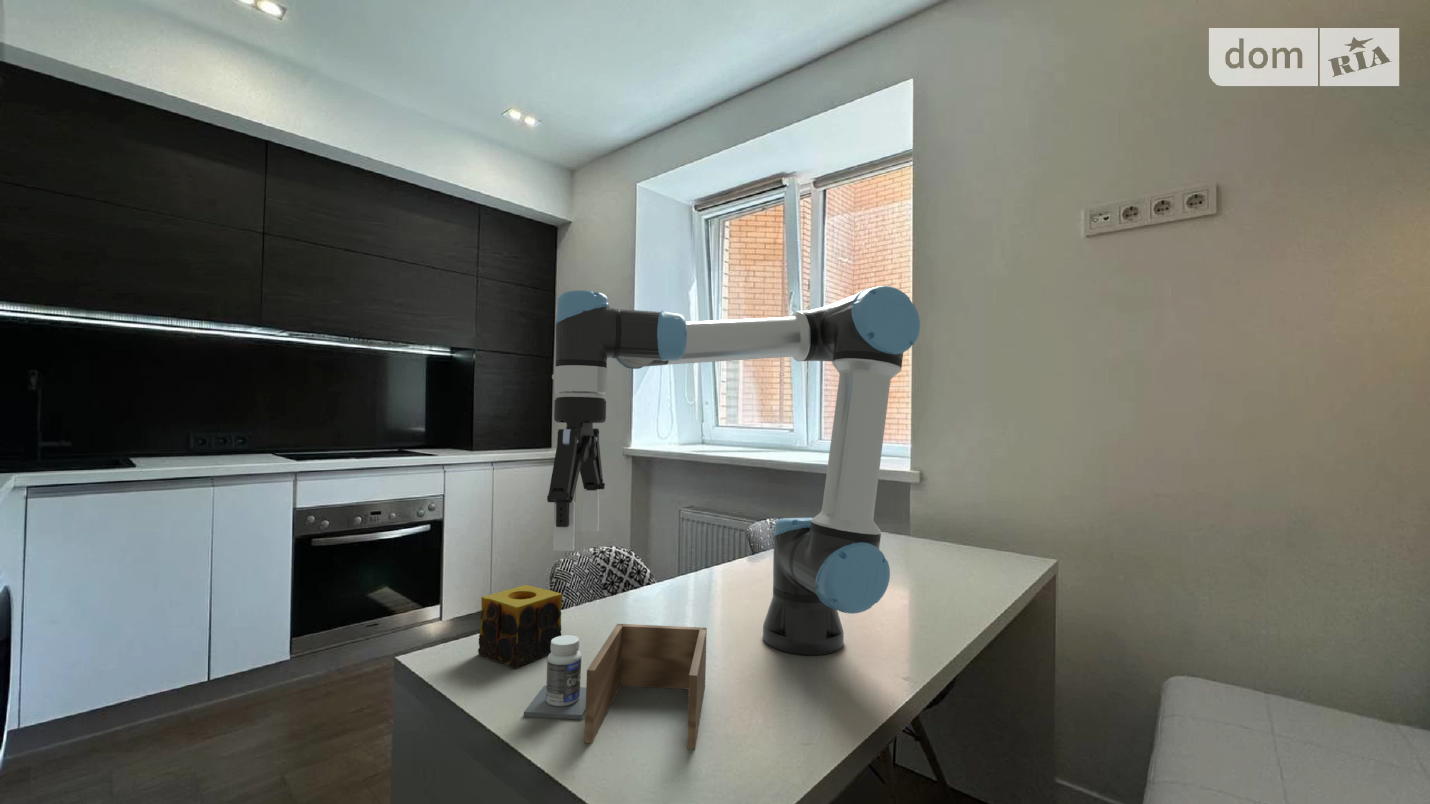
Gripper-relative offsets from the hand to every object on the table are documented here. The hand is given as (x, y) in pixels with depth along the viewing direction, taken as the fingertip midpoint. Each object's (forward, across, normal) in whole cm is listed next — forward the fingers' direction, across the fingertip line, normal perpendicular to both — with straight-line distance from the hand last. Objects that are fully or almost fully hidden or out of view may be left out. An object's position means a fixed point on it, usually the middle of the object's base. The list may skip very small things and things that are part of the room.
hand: (577, 540), depth 85 cm
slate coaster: (+23, +2, -1) cm, 23 cm away
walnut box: (+23, +3, +12) cm, 26 cm away
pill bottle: (+22, +2, -1) cm, 23 cm away
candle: (+23, -15, -14) cm, 31 cm away
